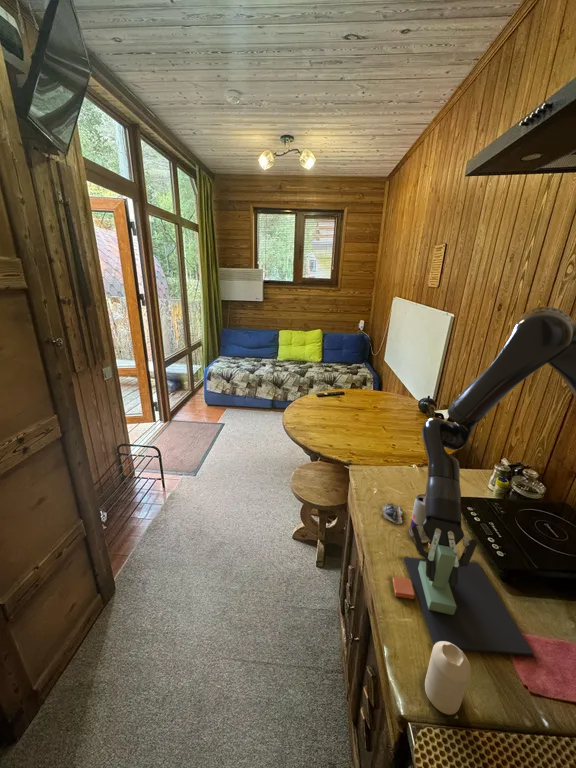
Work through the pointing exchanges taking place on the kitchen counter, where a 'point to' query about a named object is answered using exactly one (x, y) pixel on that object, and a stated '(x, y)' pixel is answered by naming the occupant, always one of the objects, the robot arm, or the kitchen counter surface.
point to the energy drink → (419, 516)
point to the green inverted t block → (439, 581)
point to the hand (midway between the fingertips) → (441, 583)
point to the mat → (471, 614)
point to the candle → (447, 677)
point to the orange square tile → (403, 587)
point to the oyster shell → (392, 513)
